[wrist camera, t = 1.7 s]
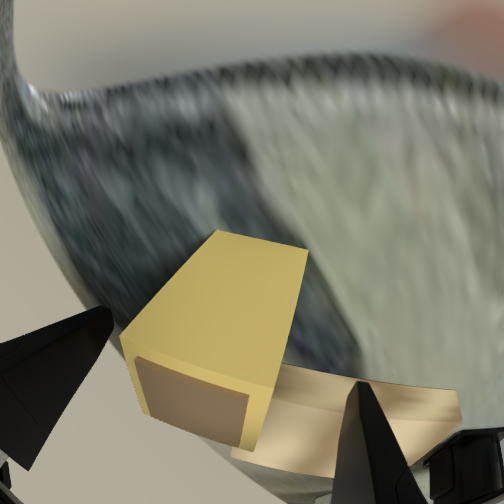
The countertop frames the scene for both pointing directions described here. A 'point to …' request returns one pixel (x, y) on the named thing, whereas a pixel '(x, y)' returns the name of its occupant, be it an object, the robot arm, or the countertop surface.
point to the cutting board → (331, 415)
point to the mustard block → (217, 338)
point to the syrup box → (324, 499)
